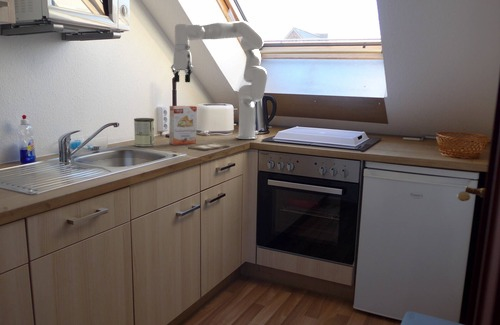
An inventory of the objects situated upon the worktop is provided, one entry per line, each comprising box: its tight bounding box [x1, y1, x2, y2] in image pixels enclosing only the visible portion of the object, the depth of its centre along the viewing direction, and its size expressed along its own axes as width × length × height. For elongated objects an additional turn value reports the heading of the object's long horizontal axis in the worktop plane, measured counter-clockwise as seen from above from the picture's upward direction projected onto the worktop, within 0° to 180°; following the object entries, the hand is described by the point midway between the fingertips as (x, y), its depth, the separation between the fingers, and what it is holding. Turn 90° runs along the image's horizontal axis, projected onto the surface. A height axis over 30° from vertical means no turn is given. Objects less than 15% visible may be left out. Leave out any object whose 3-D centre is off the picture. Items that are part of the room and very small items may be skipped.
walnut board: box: [187, 143, 230, 152], centre depth 236 cm, size 19×12×1 cm, turn 143°
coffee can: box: [133, 117, 155, 147], centre depth 238 cm, size 10×10×14 cm
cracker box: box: [168, 105, 198, 146], centre depth 246 cm, size 14×6×21 cm, turn 125°
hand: (182, 81), depth 242 cm, fingers open, 7 cm apart
